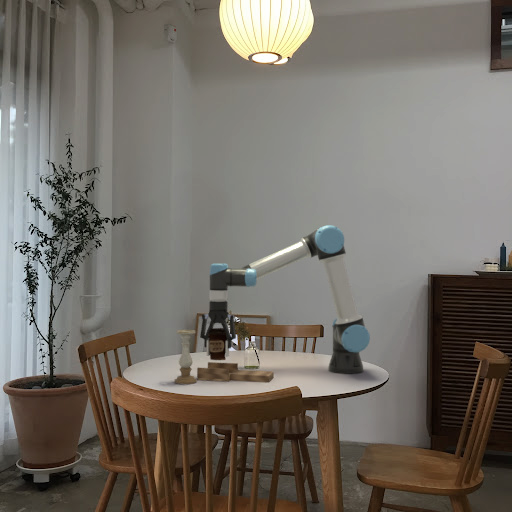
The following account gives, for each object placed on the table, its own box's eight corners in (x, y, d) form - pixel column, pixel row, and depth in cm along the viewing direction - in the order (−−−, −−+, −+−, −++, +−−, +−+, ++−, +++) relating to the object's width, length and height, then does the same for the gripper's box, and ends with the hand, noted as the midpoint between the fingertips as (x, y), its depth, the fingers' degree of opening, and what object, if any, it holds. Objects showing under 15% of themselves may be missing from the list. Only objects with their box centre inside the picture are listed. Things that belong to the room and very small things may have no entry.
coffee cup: (225, 361, 234) (225, 329, 234) (205, 360, 236) (205, 329, 236) (230, 358, 243) (230, 327, 243) (211, 357, 244) (211, 326, 245)
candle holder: (176, 384, 223) (176, 332, 224) (172, 380, 232) (173, 329, 232) (198, 383, 226) (198, 331, 226) (194, 379, 234) (194, 329, 234)
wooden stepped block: (274, 376, 241) (274, 365, 242) (267, 383, 227) (267, 371, 227) (208, 373, 248) (208, 362, 248) (197, 379, 233) (197, 367, 233)
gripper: (244, 300, 241) (243, 355, 241) (198, 299, 246) (197, 353, 245) (239, 301, 234) (239, 358, 233) (192, 300, 238) (191, 356, 238)
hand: (217, 355), depth 239 cm, fingers closed on coffee cup, 7 cm apart
